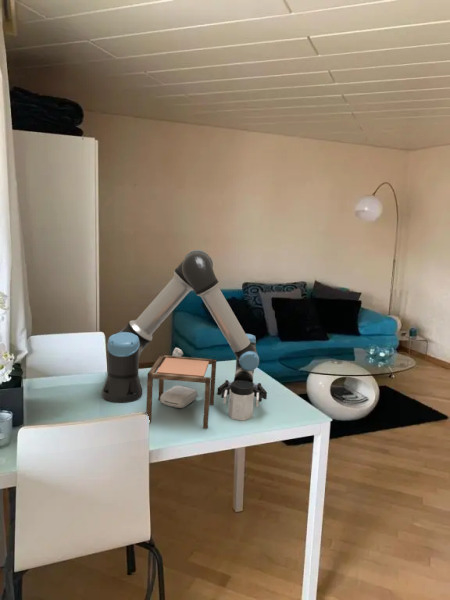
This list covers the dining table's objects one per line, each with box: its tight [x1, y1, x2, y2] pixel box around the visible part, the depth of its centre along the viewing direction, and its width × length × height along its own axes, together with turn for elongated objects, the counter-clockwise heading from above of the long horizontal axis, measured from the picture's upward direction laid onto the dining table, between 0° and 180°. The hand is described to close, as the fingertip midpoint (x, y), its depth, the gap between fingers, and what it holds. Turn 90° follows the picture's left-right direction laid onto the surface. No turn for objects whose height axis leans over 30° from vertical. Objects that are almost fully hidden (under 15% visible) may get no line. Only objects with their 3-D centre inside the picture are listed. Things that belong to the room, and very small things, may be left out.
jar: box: [227, 380, 255, 422], centre depth 173 cm, size 9×8×12 cm
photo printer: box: [159, 385, 198, 409], centre depth 181 cm, size 10×4×12 cm
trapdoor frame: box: [145, 354, 217, 429], centre depth 172 cm, size 21×21×18 cm
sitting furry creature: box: [171, 347, 184, 357], centre depth 211 cm, size 10×9×12 cm
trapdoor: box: [156, 358, 210, 377], centre depth 170 cm, size 16×16×1 cm
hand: (240, 401), depth 168 cm, fingers open, 11 cm apart
